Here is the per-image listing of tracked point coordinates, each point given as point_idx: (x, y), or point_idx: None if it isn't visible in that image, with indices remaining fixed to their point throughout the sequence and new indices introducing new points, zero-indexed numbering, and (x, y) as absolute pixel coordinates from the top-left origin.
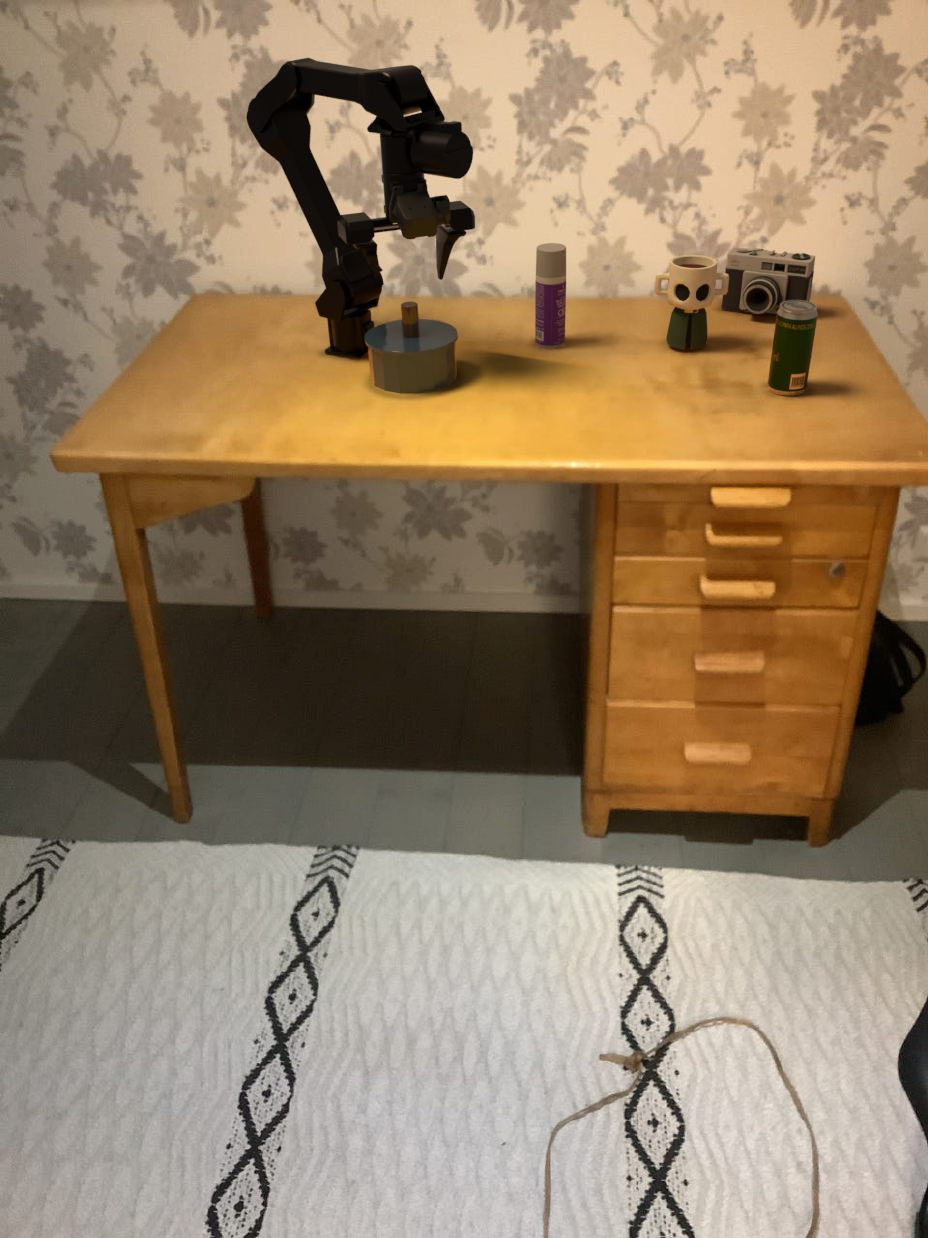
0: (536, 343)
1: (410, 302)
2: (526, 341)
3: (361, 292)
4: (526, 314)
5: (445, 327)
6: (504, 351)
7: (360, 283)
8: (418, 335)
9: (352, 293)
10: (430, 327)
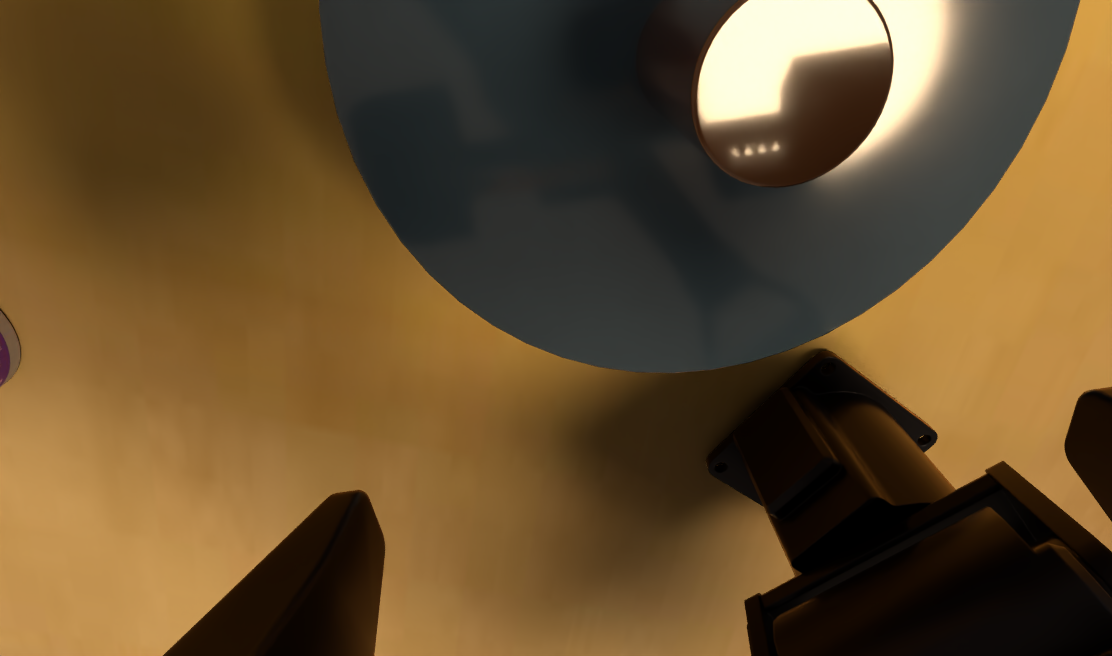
0: (1, 326)
1: (760, 149)
2: (69, 379)
3: (974, 584)
4: (106, 612)
5: (416, 152)
6: (165, 293)
7: (1008, 651)
8: (650, 14)
9: (1071, 558)
10: (528, 181)
